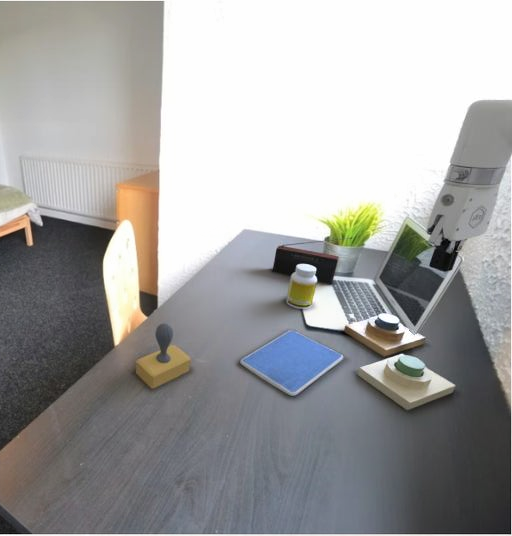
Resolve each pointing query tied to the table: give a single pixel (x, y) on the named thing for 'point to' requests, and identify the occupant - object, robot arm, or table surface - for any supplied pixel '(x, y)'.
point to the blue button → (387, 322)
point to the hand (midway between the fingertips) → (440, 268)
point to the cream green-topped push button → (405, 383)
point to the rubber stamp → (163, 360)
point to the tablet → (291, 362)
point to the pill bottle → (302, 287)
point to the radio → (305, 262)
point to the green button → (410, 366)
